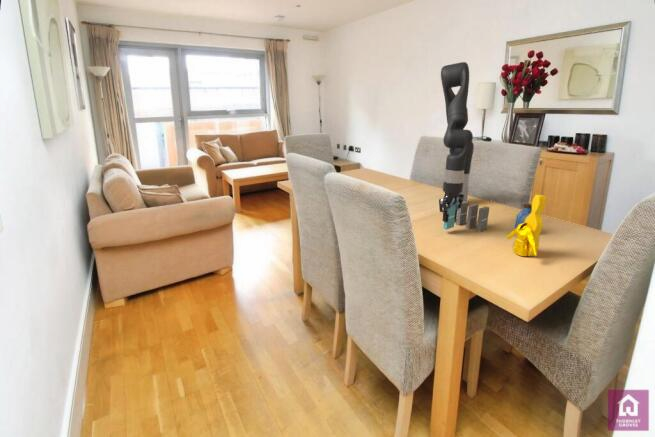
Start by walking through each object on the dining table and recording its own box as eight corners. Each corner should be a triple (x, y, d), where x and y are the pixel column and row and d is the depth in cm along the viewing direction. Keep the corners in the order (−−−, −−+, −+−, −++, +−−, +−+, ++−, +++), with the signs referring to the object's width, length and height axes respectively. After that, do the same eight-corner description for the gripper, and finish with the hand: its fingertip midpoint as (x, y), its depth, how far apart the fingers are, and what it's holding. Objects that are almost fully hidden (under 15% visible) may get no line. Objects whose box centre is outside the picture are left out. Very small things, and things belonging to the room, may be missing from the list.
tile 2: (462, 222, 165) (465, 201, 161) (465, 223, 163) (468, 202, 160) (456, 224, 162) (458, 203, 159) (459, 225, 160) (461, 203, 157)
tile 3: (472, 225, 161) (475, 203, 158) (475, 226, 159) (478, 204, 156) (465, 227, 158) (468, 205, 155) (469, 228, 157) (472, 206, 153)
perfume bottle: (530, 230, 154) (535, 203, 150) (532, 235, 149) (538, 207, 145) (514, 228, 156) (518, 202, 152) (516, 233, 151) (521, 206, 147)
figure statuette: (500, 244, 140) (509, 189, 133) (519, 243, 141) (529, 188, 133) (529, 265, 123) (541, 203, 116) (550, 263, 124) (563, 202, 117)
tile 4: (482, 228, 157) (485, 206, 154) (486, 229, 156) (489, 207, 152) (476, 230, 154) (479, 208, 151) (479, 231, 153) (483, 209, 150)
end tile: (450, 225, 154) (452, 203, 151) (453, 226, 153) (456, 204, 149) (443, 228, 151) (445, 205, 148) (446, 229, 150) (449, 206, 146)
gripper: (456, 176, 152) (452, 214, 158) (434, 181, 144) (431, 221, 150) (472, 179, 146) (467, 218, 152) (450, 184, 138) (446, 226, 144)
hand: (449, 219), depth 151 cm, fingers closed on end tile, 5 cm apart
